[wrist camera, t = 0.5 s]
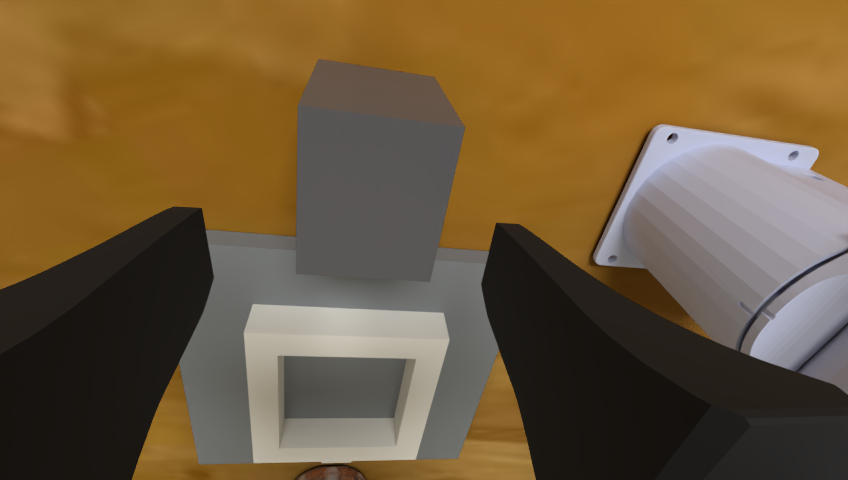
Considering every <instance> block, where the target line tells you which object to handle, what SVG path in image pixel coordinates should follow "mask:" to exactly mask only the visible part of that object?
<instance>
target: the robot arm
mask: <svg viewBox="0 0 848 480" xmlns="http://www.w3.org/2000/svg"><path fill="white" fill-rule="evenodd" d="M672 133H673V136H672V137H671V139H669V140H668V141H667V138H668V137H669V135H671V134H672ZM818 154H819V151H818V149H815V148H813V147H811V146H806V145H799V144H792V143H785V142H779V141H772V140H765V139H759V138H752V137H745V136H739V135H732V134H725V133H718V132H712V131H705V130H698V129H692V128H685V127H678V126H671V125H665V124H662V125H658V126H656V127H655V128H653V129H652V131H651V132H650V134H649V136H648V138H647V140H646V142H645V145H644V147H643V149H642V151H641V153H640V155H639V157H638V160H637V162H636V164H635V166H634V168H633V170H632V172H631V175H630V177H629V179H628V181H627V183H626V185H625V188H624V190H623V192H622V194H621V196H620V198H619V200H618V203H617V205H616V207H615V209H614V211H613V213H612V216H611V218H610V220H609V222H608V224H607V226H606V228H605V231H604V233H603V235H602V237H601V239H600V241H599V243H598V246H597V248H596V250H595V252H594V254H593V260H594V261H595V262H596V263H597V264H598V265H604V266H617V267H631V268H645V269H647V270H648V271H649V272H650V273H651V274H652V275H653V276H654V277H655V278H656V279H657V281H658V282H659V283H660V284H661V285H662V286H663V287H664V288H665V289H666V290H667V291H668V292H669V294H670V295H671V296H672V297H673V298H674V299H675V300H676V301H677V302H678V303H679V304H680V306H681V307H682V308H683V309H684V310H685V311H686V312H687V313H688V314H689V315H690V316H691V318H692V319H693V320H694V321H695V322H696V323H697V324H698V325H699V326H700V327H701V328H702V329H703V331H704V332H705V333H706V334H707V335H708V336H709V337H710V338H711V339H712V340H713V341H712V340H710V339H708V338H705V337H703V336H701V335H698V334H696V333H694V332H692V331H690V330H688V329H686V328H683V327H681V326H679V325H677V324H675V323H673V322H671V321H668V320H666V319H665V318H663V317H661V316H659V315H657V314H655V313H653V312H651V311H649V310H647V309H645V308H644V307H642V306H640V305H638V304H637V303H635V302H633V301H631V300H629V299H628V298H626V297H624V296H622V295H621V294H619V293H617V292H616V291H614V290H612V289H611V288H609V287H608V286H606V285H605V284H603V283H602V282H600V281H599V280H597V279H596V278H594V277H593V276H591V275H590V274H588V273H587V272H585V271H584V270H582V269H581V268H579V267H578V266H577V265H575V264H574V263H572V262H571V261H570V260H568V259H567V258H566V257H564V256H563V255H561V254H560V253H559V252H557V251H556V250H555V249H553V248H552V247H551V246H549V245H548V244H547V243H545V242H544V241H543V240H541V239H540V238H539V237H537V236H536V235H534V234H533V233H532V232H530V231H529V230H527V229H526V228H524V227H523V226H521V225H519V224H507V223H496V226H495V230H494V234H493V238H492V242H491V246H490V250H489V254H488V258H487V262H486V266H485V270H484V274H483V278H482V282H481V287H482V293H483V298H484V303H485V308H486V312H487V317H488V319H489V322H490V325H491V328H492V331H493V334H494V337H495V339H496V342H497V345H498V348H499V350H500V353H501V356H502V359H503V361H504V364H505V367H506V370H507V372H508V375H509V378H510V381H511V383H512V386H513V389H514V392H515V395H516V398H517V402H518V405H519V409H520V413H521V417H522V421H523V425H524V429H525V433H526V437H527V441H528V446H529V450H530V455H531V459H532V464H533V468H534V473H535V477H536V480H848V187H846V186H844V185H841V184H839V183H837V182H835V181H833V180H831V179H829V178H827V177H824V176H822V175H820V174H818V173H816V172H814V171H812V170H809V169H810V168H811V166H812V165H813V163H814V162H815V161H816V159H817V157H818ZM610 256H612V257H611V258H610V259H608V258H609V257H610ZM213 279H214V274H213V268H212V263H211V257H210V251H209V246H208V240H207V235H206V229H205V223H204V218H203V212H202V208H191V207H172V208H169V209H167V210H164V211H162V212H160V213H158V214H156V215H154V216H152V217H150V218H148V219H147V220H145V221H143V222H141V223H139V224H137V225H135V226H133V227H132V228H130V229H128V230H126V231H124V232H122V233H120V234H118V235H116V236H114V237H113V238H111V239H109V240H107V241H105V242H103V243H101V244H99V245H97V246H95V247H94V248H91V249H89V250H87V251H85V252H83V253H81V254H79V255H77V256H75V257H73V258H71V259H69V260H67V261H65V262H62V263H60V264H58V265H56V266H54V267H52V268H50V269H48V270H46V271H44V272H41V273H39V274H37V275H35V276H32V277H30V278H28V279H25V280H23V281H21V282H18V283H16V284H13V285H11V286H8V287H6V288H3V289H1V290H0V480H132V477H133V474H134V471H135V468H136V465H137V462H138V459H139V456H140V453H141V450H142V448H143V445H144V442H145V439H146V437H147V434H148V431H149V428H150V426H151V423H152V420H153V417H154V415H155V412H156V410H157V408H158V405H159V403H160V401H161V398H162V396H163V394H164V392H165V390H166V388H167V386H168V384H169V382H170V380H171V378H172V376H173V374H174V372H175V370H176V368H177V365H178V363H179V361H180V359H181V357H182V355H183V353H184V351H185V349H186V347H187V345H188V343H189V341H190V339H191V337H192V335H193V333H194V331H195V329H196V327H197V325H198V323H199V320H200V318H201V316H202V314H203V311H204V308H205V305H206V302H207V299H208V296H209V293H210V290H211V286H212V283H213Z"/></svg>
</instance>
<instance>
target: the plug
mask: <svg viewBox="0 0 848 480" xmlns="http://www.w3.org/2000/svg"><path fill="white" fill-rule="evenodd" d="M464 130H465V126H464V125H463V123H462V122H461V120H460V118H459V117H458V115H457V113H456V112H455V110H454V108H453V107H452V105H451V103H450V102H449V100H448V99H447V97H446V95H445V94H444V92H443V90H442V89H441V87H440V85H439V84H438V82H437V81H436V79H435V77H431V76H425V75H418V74H412V73H405V72H399V71H392V70H386V69H379V68H373V67H367V66H360V65H354V64H347V63H341V62H334V61H328V60H321V59H318V61H317V64H316V66H315V68H314V70H313V73H312V75H311V77H310V79H309V82H308V84H307V86H306V88H305V91H304V93H303V95H302V97H301V99H300V102H299V104H298V144H297V222H296V274H304V275H321V276H337V277H354V278H371V279H387V280H404V281H421V282H430V280H431V276H432V271H433V267H434V262H435V258H436V254H437V249H438V245H439V240H440V236H441V232H442V227H443V223H444V218H445V214H446V209H447V205H448V201H449V196H450V192H451V187H452V183H453V178H454V174H455V170H456V165H457V161H458V156H459V152H460V147H461V143H462V139H463V134H464Z"/></svg>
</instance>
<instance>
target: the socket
mask: <svg viewBox="0 0 848 480" xmlns="http://www.w3.org/2000/svg"><path fill="white" fill-rule="evenodd" d="M206 235H207V240H208V246H209V251H210V257H211V263H212V268H213V274H214V279H213V283H212V286H211V290H210V293H209V296H208V299H207V302H206V305H205V308H204V311H203V314H202V316H201V318H200V320H199V323H198V325H197V327H196V329H195V331H194V333H193V335H192V337H191V339H190V341H189V343H188V345H187V347H186V349H185V351H184V353H183V355H182V357H181V359H180V361H179V365H180V370H181V375H182V380H183V385H184V390H185V395H186V400H187V405H188V410H189V415H190V420H191V425H192V430H193V436H194V441H195V446H196V451H197V456H198V461H199V464H236V463H284V462H321V463H351V461H374V460H416V459H458V457H459V454H460V451H461V449H462V446H463V443H464V441H465V438H466V435H467V433H468V430H469V427H470V425H471V422H472V419H473V417H474V414H475V411H476V409H477V406H478V403H479V401H480V398H481V395H482V393H483V390H484V387H485V385H486V382H487V379H488V377H489V374H490V371H491V369H492V366H493V364H494V361H495V358H496V356H497V353H498V350H499V348H498V345H497V342H496V339H495V337H494V334H493V331H492V328H491V325H490V322H489V319H488V317H487V312H486V308H485V303H484V298H483V293H482V287H481V282H482V278H483V274H484V270H485V266H486V262H487V258H488V254H489V251H478V250H464V249H451V248H438V249H437V254H436V258H435V262H434V267H433V271H432V276H431V280H430V282H421V281H404V280H387V279H371V278H354V277H337V276H321V275H304V274H296V237H294V236H281V235H267V234H254V233H241V232H228V231H215V230H206Z"/></svg>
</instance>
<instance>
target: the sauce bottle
mask: <svg viewBox="0 0 848 480" xmlns="http://www.w3.org/2000/svg"><path fill="white" fill-rule="evenodd" d="M296 480H366V479H365V477H364V476H363V475H362V474H361V473H360V472H358V471H357V470H356V469H353V468H350V467H348V466H346V465H345V466H320V467H317V468H314V469H311V470H308V471H307V472H305V473H303V474H301V475H300V476H298V477H297V479H296Z"/></svg>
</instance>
